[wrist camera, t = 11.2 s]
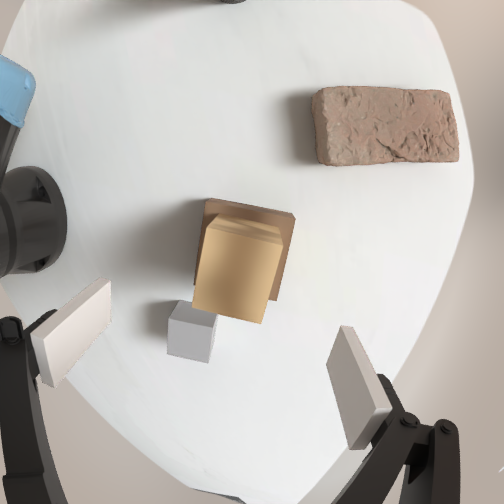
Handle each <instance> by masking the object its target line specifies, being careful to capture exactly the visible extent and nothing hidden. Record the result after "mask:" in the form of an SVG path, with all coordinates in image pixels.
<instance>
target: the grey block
mask: <svg viewBox="0 0 504 504" xmlns="http://www.w3.org/2000/svg"><path fill="white" fill-rule="evenodd" d="M217 319H218V314H216V313H212V312H208V311H204V310H200V309H196V308H192V302H188V301H183V300H179V302H178V303H177V305H176V307H175V308H174V310H173V312H172V314H171V315H170V317H169V320H168V338H167V354H169V355H173V356H177V357H181V358H186V359H190V360H195V361H200V362H204V363H208V362H209V358H210V355H211V351H212V347H213V344H214V339H215V332H216V326H217Z"/></svg>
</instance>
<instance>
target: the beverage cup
mask: <svg viewBox="0 0 504 504" xmlns="http://www.w3.org/2000/svg"><path fill="white" fill-rule="evenodd" d="M221 1H223V2H225V3H231V4H234V3H240V2H244V1H245V0H221Z"/></svg>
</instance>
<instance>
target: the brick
mask: <svg viewBox="0 0 504 504" xmlns="http://www.w3.org/2000/svg"><path fill="white" fill-rule="evenodd" d="M311 98H312V104H311V105H312V108H311V113H312V115H313V118H314V125H315V131H316V132H315V133H316V136H315V138H316V144H315V149H316V152H317V158H318V161H319V163H321V164H324V165H327V166H330V165H331V166H353V165H372V164H379V163H380V164H384V163H387V162H407V161H408V162H457V161H458V160H459V147H458V146H459V140H458V133H457V125H456V120H455V117H454V113H453V109H452V105H451V99H450V95H449V94H448V93H446V92H443V91H441V90H418V89H416V90H403V89H397V88H388V87H370V86H348V87H347V86H337V87H327V88H323V89H321V90H319V91H318V92H317V93H316V94H314V95H313V97H311Z"/></svg>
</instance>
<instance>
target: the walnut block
mask: <svg viewBox="0 0 504 504" xmlns="http://www.w3.org/2000/svg"><path fill="white" fill-rule="evenodd" d="M219 213H221V214H225V215H229V216H233V217H238V218H242V219H246V220H250V221H254V222H258V223H262V224H267V225H271V226H275V227H279V230H280V234H281V238H282V242H283V249H282V253H281V256H280V260H279V263H278V267H277V270H276V274H275V277H274V281H273V284H272V288H271V291H270V295H269V298H268V300H273V301H277V297H278V293H279V289H280V285H281V280H282V276H283V272H284V268H285V263H286V259H287V255H288V251H289V246H290V242H291V237H292V233H293V228H294V224H295V217H294V216H293V214H292V213H288V212H283V211H278V210H273V209H268V208H263V207H258V206H253V205H247V204H242V203H237V202H231V201H226V200H220V199H215V198H211V199H209V200H208V201H206V203H205V209H204V215H203V222H202V228H201V235H200V242H199V249H198V256H197V263H196V270H195V278H194V285H196V279H197V274H198V268H199V263H200V258H201V253H202V248H203V243H204V238H205V233H206V228H207V226H208V225H209V224H210V223H211V222H212V221H213V220H214V219H215V218H216V217H217V216H218V214H219Z"/></svg>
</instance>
